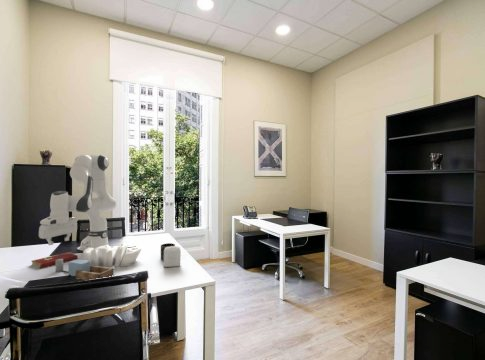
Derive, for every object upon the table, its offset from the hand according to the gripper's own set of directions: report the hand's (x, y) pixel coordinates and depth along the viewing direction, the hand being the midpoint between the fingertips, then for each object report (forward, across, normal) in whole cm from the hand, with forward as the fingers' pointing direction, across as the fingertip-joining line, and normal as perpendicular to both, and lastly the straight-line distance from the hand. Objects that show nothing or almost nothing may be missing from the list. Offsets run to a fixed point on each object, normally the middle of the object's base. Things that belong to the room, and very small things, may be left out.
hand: (59, 242), depth 145 cm
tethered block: (+17, 0, +16) cm, 23 cm away
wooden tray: (+16, 0, +26) cm, 31 cm away
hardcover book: (+18, -10, -16) cm, 26 cm away
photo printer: (+16, -29, +57) cm, 66 cm away
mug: (+16, -41, +47) cm, 65 cm away
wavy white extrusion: (+17, -21, +17) cm, 32 cm away
